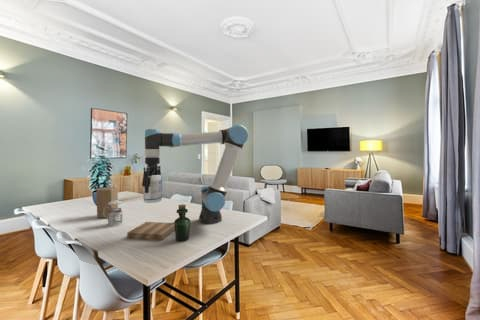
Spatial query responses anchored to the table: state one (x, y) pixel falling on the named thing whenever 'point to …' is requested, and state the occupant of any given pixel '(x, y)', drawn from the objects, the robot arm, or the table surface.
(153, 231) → the walnut base
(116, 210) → the french press
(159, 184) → the supplement tub
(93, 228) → the table surface
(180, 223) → the potion bottle
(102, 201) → the block
